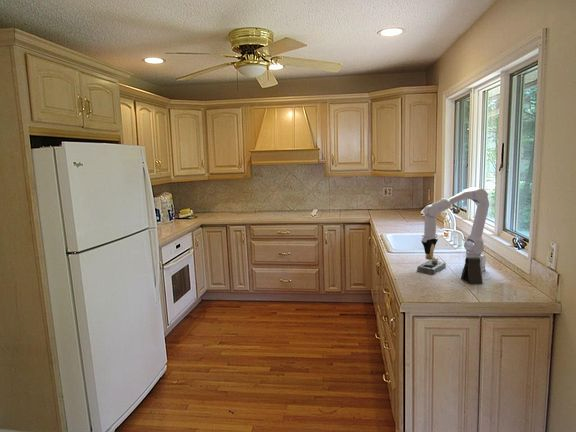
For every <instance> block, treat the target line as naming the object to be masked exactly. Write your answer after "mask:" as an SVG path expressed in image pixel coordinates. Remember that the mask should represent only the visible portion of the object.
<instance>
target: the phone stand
mask: <svg viewBox="0 0 576 432" xmlns="http://www.w3.org/2000/svg"><path fill="white" fill-rule="evenodd" d="M463 268H464V269H463ZM463 268H462V272H461V276H460V279H461V280H463V281H464V282H466V283H467V284H470V285H479V284H480V285H482V284H483V283H484V282H483V277H482V275H483V274H482V272H481V268H480V258H478V257H470V258H466V257H465V258H464V266H463Z"/></svg>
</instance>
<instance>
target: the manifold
mask: <svg viewBox="0 0 576 432" xmlns="http://www.w3.org/2000/svg"><path fill="white" fill-rule="evenodd" d="M446 265H447V263H446V262H443V261H439V257H436V256H433V260H427V261H425V262H423V263H421V264H420V265H418V266H417V269H416V271H417V272H421V273H426V274H430V275H431V274H432V275H435V274H436V273H439V272H440V271H442V270H443V269H446V267H447V266H446Z"/></svg>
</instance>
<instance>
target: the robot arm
mask: <svg viewBox="0 0 576 432" xmlns="http://www.w3.org/2000/svg"><path fill="white" fill-rule="evenodd" d="M488 196H489V193H488V192H487V191H486V189H484V188H479V187H474V186H470V187H468V188H465V189H464V190H462V191H461V192H458V193H457V194H454V195H453V196H451V197H449V198H445V197H444V198H443V197H442V198H439V199H440V200H437V201H436V202H431V204H428V205H425V207H424V208H423V209H422V213H423V214H424V226H423V227H424V229H423V230H424V231H423V233H424V234H422V235H421V237H422V238H421V243H422V246H423V250H424V254H425V255H426V254H430V250H431V246H432V244H434V249H436V245H437V243H438V241H439V240H438V233H437V216H438V215H439V214H440V213H442V212H444V211H447V210H449V209H450V208H451V207H452V205H454V204H456V203H458V202H461V201H463V200H465V199H466V200H471V201H472V202H474V204H475V205H476V209H475V214H474V219H473V223H472V228H471V232H470V234H469V235H468V236H467V237H466V241H465V242H464V243H463V247H464V249H465V259H466V258H470V257H478V258H480V268H481V273H482V272H484V271H485V270H486V261H487V257H486V255H485V254H482V253H483V252H484V250H485V247H484V239H483V234H484V233H483V232H484V228H485V226H486V225H485V223H486V220H487V215H488V212H489V207H490V201H489V198H488ZM463 269H464V267H463V268H462V270H463Z"/></svg>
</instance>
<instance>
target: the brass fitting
mask: <svg viewBox="0 0 576 432" xmlns="http://www.w3.org/2000/svg"><path fill="white" fill-rule="evenodd" d="M434 251H435V248H434V244H432V246H431V250H430V254H425V260H427V261H429V260H433V257H435V256H434V253H435V252H434Z"/></svg>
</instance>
